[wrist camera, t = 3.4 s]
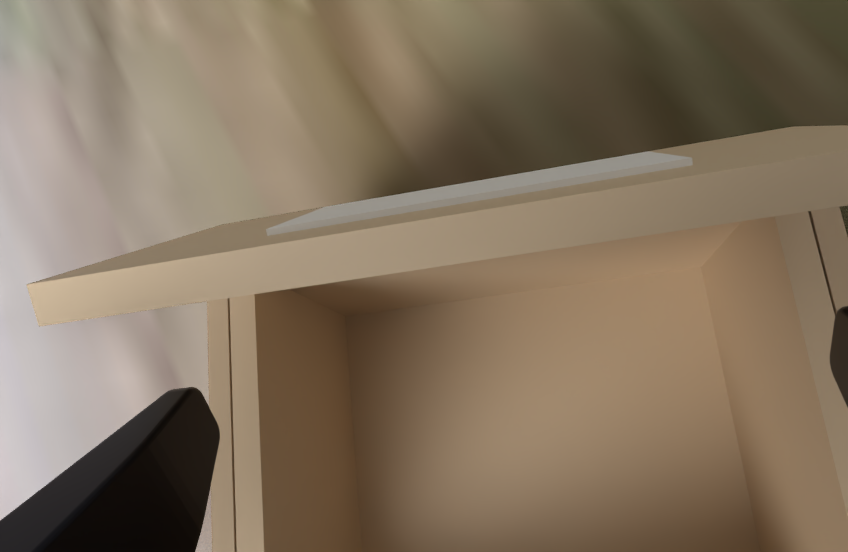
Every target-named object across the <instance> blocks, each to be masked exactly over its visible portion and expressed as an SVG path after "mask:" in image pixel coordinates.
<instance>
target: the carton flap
mask: <svg viewBox="0 0 848 552" xmlns="http://www.w3.org/2000/svg"><path fill="white" fill-rule="evenodd" d="M847 205H848V125H838V126H796V127H787V128H781V129H776V130H770V131H764V132H758V133H752V134H746V135H741V136H735V137H729V138H723V139H717V140H711V141H706V142H700V143H694V144H688V145H682V146H677V147H671V148H665V149H659V150H653V151H647V152H642V153H636V154H630V155H624V156H618V157H612V158H607V159H601V160H595V161H589V162H583V163H578V164H572V165H566V166H560V167H554V168H548V169H543V170H537V171H531V172H525V173H519V174H514V175H508V176H502V177H496V178H490V179H484V180H479V181H473V182H467V183H461V184H455V185H449V186H444V187H438V188H432V189H426V190H420V191H415V192H409V193H403V194H397V195H391V196H385V197H380V198H374V199H368V200H362V201H356V202H350V203H345V204H339V205H333V206H327V207H321V208H316V209H310V210H304V211H298V212H292V213H286V214H281V215H275V216H269V217H263V218H257V219H252V220H246V221H240V222H234V223H228V224H222V225H219V226H216V227H213V228H209V229H206V230H203V231H199V232H196V233H193V234H190V235H186V236H183V237H180V238H177V239H173V240H170V241H167V242H164V243H160V244H157V245H154V246H151V247H147V248H144V249H141V250H138V251H134V252H131V253H128V254H125V255H121V256H118V257H115V258H111V259H108V260H105V261H102V262H98V263H95V264H92V265H89V266H85V267H82V268H79V269H76V270H72V271H69V272H66V273H63V274H59V275H56V276H53V277H50V278H46V279H43V280H40V281H36V282H33V283H30V284H27V288H28V291H29V295H30V298H31V301H32V304H33V308H34V311H35V314H36V318H37V321H38V324H39V326H46V325H52V324H59V323H66V322H72V321H79V320H86V319H92V318H99V317H106V316H112V315H119V314H126V313H132V312H139V311H146V310H152V309H159V308H166V307H172V306H179V305H186V304H192V303H199V302H206V301H213V300H219V299H226V298H233V297H239V296H246V295H253V294H259V293H266V292H273V291H279V290H286V289H293V288H299V287H306V286H313V285H319V284H326V283H333V282H339V281H346V280H353V279H359V278H366V277H373V276H379V275H386V274H393V273H400V272H406V271H413V270H420V269H426V268H433V267H440V266H446V265H453V264H460V263H466V262H473V261H480V260H486V259H493V258H500V257H506V256H513V255H520V254H526V253H533V252H540V251H546V250H553V249H560V248H567V247H573V246H580V245H587V244H593V243H600V242H607V241H613V240H620V239H627V238H633V237H640V236H647V235H653V234H660V233H667V232H673V231H680V230H687V229H693V228H700V227H707V226H713V225H720V224H727V223H733V222H740V221H747V220H754V219H760V218H767V217H774V216H780V215H787V214H794V213H800V212H807V211H814V210H820V209H827V208H834V207H840V206H847Z"/></svg>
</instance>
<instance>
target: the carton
mask: <svg viewBox="0 0 848 552" xmlns="http://www.w3.org/2000/svg"><path fill="white" fill-rule="evenodd" d="M844 306H848V237H847V233H846V229H845V225H844V222H843V218H842V214H841V211H840V207H834V208H827V209H820V210H814V211H807V212H800V213H794V214H787V215H780V216H774V217H767V218H760V219H754V220H747V221H740V222H733V223H727V224H720V225H713V226H707V227H700V228H693V229H687V230H680V231H673V232H667V233H660V234H653V235H647V236H640V237H633V238H627V239H620V240H613V241H607V242H600V243H593V244H587V245H580V246H573V247H567V248H560V249H553V250H546V251H540V252H533V253H526V254H520V255H513V256H506V257H500V258H493V259H486V260H480V261H473V262H466V263H460V264H453V265H446V266H440V267H433V268H426V269H420V270H413V271H406V272H400V273H393V274H386V275H379V276H373V277H366V278H359V279H353V280H346V281H339V282H333V283H326V284H319V285H313V286H306V287H299V288H293V289H286V290H279V291H273V292H266V293H259V294H253V295H246V296H239V297H233V298H226V299H219V300H213V301H207V324H208V374H209V408H210V410H211V412H212V414H213V416H214V417H215V419H216V421H217V423H218V426H219V430H220V441H219V447H218V452H217V457H216V462H215V466H214V471H213V476H212V481H211V524H212V552H848V408H847V405H846V403H845V401H844V399H843V396H842V394H841V392H840V390H839V388H838V385H837V383H836V381H835V379H834V376H833V374H832V371H831V367H830V349H831V341H832V334H833V327H834V319H835V315H836V313H837V311H838V310H839V309H840V308H842V307H844Z"/></svg>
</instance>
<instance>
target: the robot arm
mask: <svg viewBox="0 0 848 552" xmlns="http://www.w3.org/2000/svg"><path fill="white" fill-rule="evenodd" d="M830 367H831V371H832V374H833V376H834V379H835V381H836V383H837V385H838V388H839V390H840V392H841V394H842V396H843V399H844V401H845V403H846V405H847V408H848V306H844V307H842V308H840V309H839V310H838V311H837V313H836V315H835V319H834V327H833V334H832V341H831V349H830ZM219 441H220V430H219V426H218V423H217V421H216V419H215V417H214V416H213V414H212V412H211V410H210V408H209V406H208V404H207V402H206V400H205V399H204V397H203V395H202V393H201V392H200V391H199V390H198V389H197V388H194V387H188V388H180V389H173V390H170V391H168V392H166V393H165V394H164V395H162V396H161V397H160V398H158V399H157V400H156V401H155V402H153V403H152V404H151V405H149V406H148V407H147V408H145V409H144V410H143V411H142V412H140V413H139V414H138V415H136V416H135V417H134V418H133V419H131V420H130V421H129V422H127V423H126V424H125V425H123V426H122V427H121V428H120V429H118V430H117V431H116V432H114V433H113V434H112V435H111V436H109V437H108V438H107V439H105V440H104V441H103V442H101V443H100V444H99V445H98V446H96V447H95V448H94V449H92V450H91V451H90V452H89V453H87V454H86V455H85V456H83V457H82V458H81V459H79V460H78V461H77V462H76V463H74V464H73V465H72V466H70V467H69V468H68V469H67V470H65V471H64V472H63V473H61V474H60V475H59V476H57V477H56V478H55V479H54V480H52V481H51V482H50V483H48V484H47V485H46V486H45V487H43V488H42V489H41V490H39V491H38V492H37V493H35V494H34V495H33V496H32V497H30V498H29V499H28V500H26V501H25V502H24V503H23V504H21V505H20V506H19V507H17V508H16V509H15V510H13V511H12V512H11V513H10V514H8V515H7V516H6V517H4V518H3V519H2V520H1V521H0V552H195V550H196V547H197V543H198V540H199V536H200V533H201V529H202V524H203V520H204V516H205V511H206V506H207V501H208V496H209V491H210V486H211V481H212V476H213V471H214V466H215V462H216V457H217V452H218V447H219Z"/></svg>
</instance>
